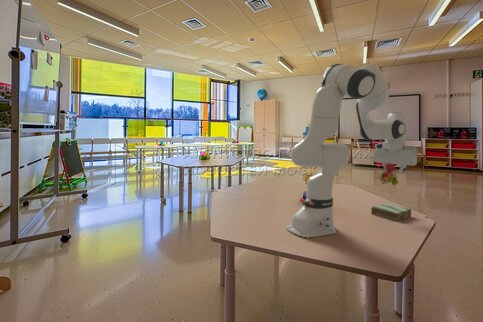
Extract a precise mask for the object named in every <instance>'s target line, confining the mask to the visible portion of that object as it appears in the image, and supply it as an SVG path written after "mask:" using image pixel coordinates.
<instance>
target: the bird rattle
mask: <svg viewBox="0 0 483 322" xmlns="http://www.w3.org/2000/svg"><path fill="white" fill-rule="evenodd" d="M396 170H397V167H395V164H389V163H388V164H387V165H386V170H385V169H383V170H381V171H380V172H379V174H378V178H379V181H380V182H381V184H382V185H385V184H390V183H391V185H392V186H395V185H398V184H399V181H398V178H397V176H395V174H394V172H393V171H396Z"/></svg>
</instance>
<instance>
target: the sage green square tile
mask: <svg viewBox="0 0 483 322" xmlns="http://www.w3.org/2000/svg"><path fill="white" fill-rule="evenodd" d="M411 209H412V208H407V207H404V206H400V205H395V204H391V203H386V202H385V203H382V204H378V205H375V206H372V207H371V210H370V211H371V212H370V213H371V215H373V216H376V217H377V216H378V217H380V218H384V219H387V220H391V221H394V222H398V221H402V220H406V219H408V218H411V216H412V210H411Z"/></svg>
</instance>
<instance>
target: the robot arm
mask: <svg viewBox="0 0 483 322" xmlns="http://www.w3.org/2000/svg"><path fill="white" fill-rule="evenodd" d="M389 89H390V88H389V86H388V83H387V80H386V78H385V76H384V74H383V73H382V71H381V69H380V68H379V67H378V66H377V65H375V64H365V65H364V66H362V67H358V66H357V67H356V66H354V65H351V64H342V63H335V64H330V66H328V67H327V68H326V70H325V71H324V73H323V76H322V81H321V87H319V88H318V89H317V90H316V92H315V95H314V99H313V102H312V107H311V116H310V117H311V118H310V124H309V128H308V131H307V133H306V134H305V136H304V138H303V139H302V140H301V141H299V142H298V143H297V144H295V145H294V146H293V147H292V149H291V151H290V159H291V161H292V163H293V164H294V166H297V167H301V168H302V167H303V168H320V169H319V171H318V172H317V173H315V174H313V175H310V176H309V178H308V179H307V181H306V195H305V198H302V197H300V198H299V203H302V206H301V207H300V208H299V209H298V210H297V211H296V212H295V213H293V215H292V217H291V223H290V224H287V225H286V227H285V228H286V230H287V231H289V232H290V233H291V234H293V235H295V234H296V235H295V236H298V235H299V236H298V237H300V236H302V237H301V238H304V237H307V238H306V239H310V237H311V238H316V237H322V236H329V235H334V234H336V233H337V230H336V227H335V219H334V211H333V205H334V204H333V203H334V199H333V187H334V180H335V178H336V176H337V174H338V172H339V171H340V170H341V169H342V168H343V167H345V166H346V165H347V164H348V163H349V162H350V160H351V151H350V148H349V147H348V146H347V145H346V144H345V143H344V144H343V143H341V142H339V143H338V142H325V141H327V140H328V139H330V138H332V137H334V135H336V134H337V131H338V128H339V127H338V126H339V121H340V115H341V108H342V101H343V99H344V98H345V97H348V98H349V97H350V98H352V99H357V101H356V104H355V110H356V115H357V119H358V124H359V134H360V136H361V137H362V138H363V139H364V140H365V141H373V140H384V142H380V143H377V144H375V145H374V148H375V149H374V150H373V155H372V160H373V162H374V163H382V166H383V168H384V170H386V165H387V164H388V165H391V164H393V165H399V167H400V168H399V169H396V170H397V172H396V173H397V174H399V175H401V174H403V170H404V169H405V168H406V166H411V167H412V166H413V167H415V166H416V165H418V164H417V163H418V157H417V156H418V155H417V154H418V149H417V148H416V147H415V146H413V145H411V146H410V145H406V136H405V135H406V131H407V117H406V115H405V114H404V113H402V112H390V113H388V114H387V117H386V119H371V118H370V113H369V112H371V111H374V110H377V109H380V108H381V107H382V106H383V105H384V104H385V103H386V102H387V101H388V99H389V97H390V90H389Z"/></svg>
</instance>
